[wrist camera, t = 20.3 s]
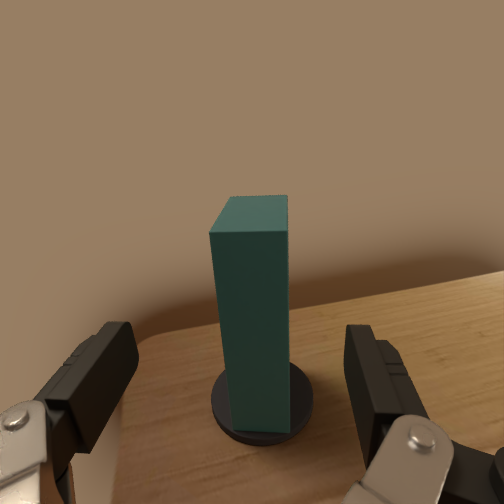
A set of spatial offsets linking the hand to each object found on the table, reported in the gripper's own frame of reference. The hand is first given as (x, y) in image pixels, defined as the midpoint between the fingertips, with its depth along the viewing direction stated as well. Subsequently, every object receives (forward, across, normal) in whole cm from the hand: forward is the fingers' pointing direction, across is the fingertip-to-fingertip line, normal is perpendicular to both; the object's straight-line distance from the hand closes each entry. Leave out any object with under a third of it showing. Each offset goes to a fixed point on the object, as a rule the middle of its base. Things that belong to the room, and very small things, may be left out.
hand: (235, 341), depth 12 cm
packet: (+7, 0, +10) cm, 12 cm away
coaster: (+7, 0, +11) cm, 13 cm away
